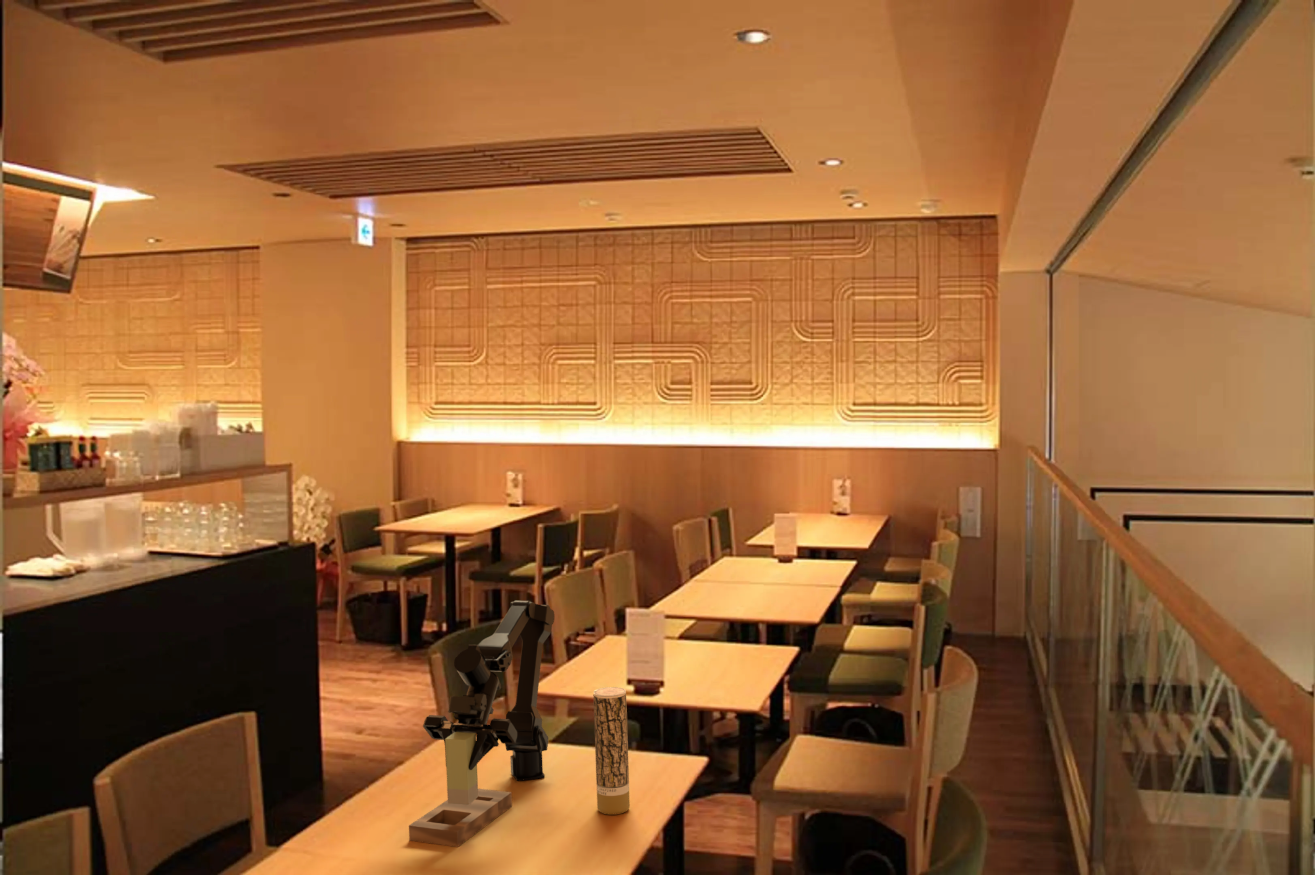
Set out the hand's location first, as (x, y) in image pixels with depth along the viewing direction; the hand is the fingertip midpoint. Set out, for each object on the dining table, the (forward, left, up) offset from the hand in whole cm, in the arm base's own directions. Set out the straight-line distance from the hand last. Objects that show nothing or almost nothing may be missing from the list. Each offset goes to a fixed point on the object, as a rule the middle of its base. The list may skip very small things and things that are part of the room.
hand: (458, 768), depth 221 cm
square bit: (-1, -1, -7) cm, 7 cm away
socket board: (-1, -7, -14) cm, 15 cm away
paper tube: (-32, -1, -14) cm, 35 cm away
